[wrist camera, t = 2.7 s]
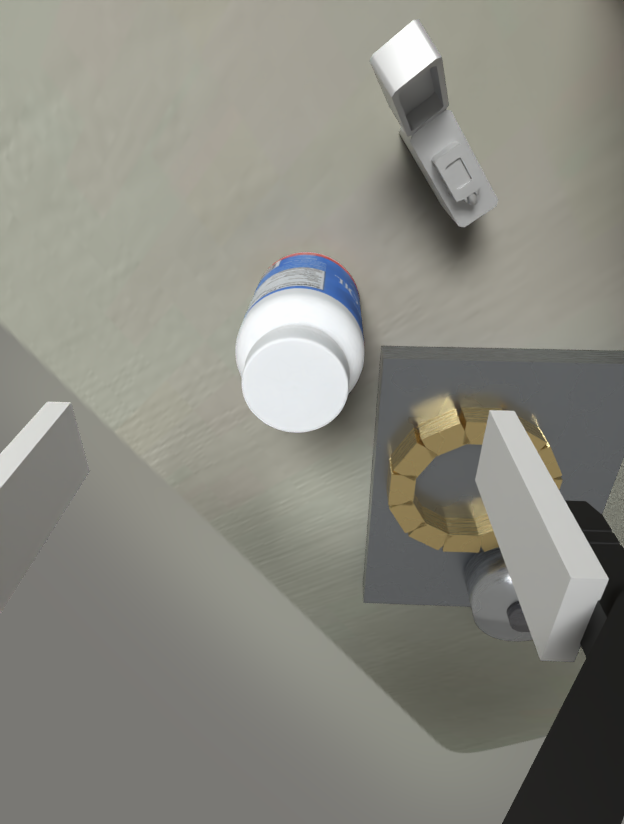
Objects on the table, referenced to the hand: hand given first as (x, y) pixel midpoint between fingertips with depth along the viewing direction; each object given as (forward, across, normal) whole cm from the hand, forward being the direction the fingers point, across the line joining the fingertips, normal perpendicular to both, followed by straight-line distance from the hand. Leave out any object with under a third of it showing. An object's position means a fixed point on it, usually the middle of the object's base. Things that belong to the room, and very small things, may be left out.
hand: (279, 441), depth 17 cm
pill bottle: (+13, 0, 0) cm, 13 cm away
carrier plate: (+13, +11, -12) cm, 21 cm away
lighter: (+13, +5, +8) cm, 16 cm away
